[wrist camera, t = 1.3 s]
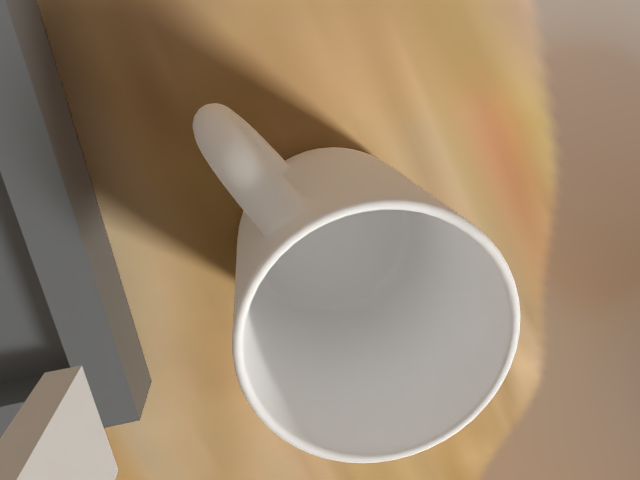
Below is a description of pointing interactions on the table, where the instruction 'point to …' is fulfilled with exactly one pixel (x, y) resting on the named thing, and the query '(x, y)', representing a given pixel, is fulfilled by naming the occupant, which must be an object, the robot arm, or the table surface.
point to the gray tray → (55, 242)
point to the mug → (357, 299)
